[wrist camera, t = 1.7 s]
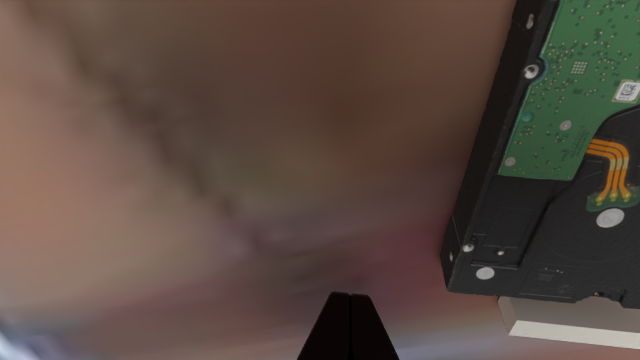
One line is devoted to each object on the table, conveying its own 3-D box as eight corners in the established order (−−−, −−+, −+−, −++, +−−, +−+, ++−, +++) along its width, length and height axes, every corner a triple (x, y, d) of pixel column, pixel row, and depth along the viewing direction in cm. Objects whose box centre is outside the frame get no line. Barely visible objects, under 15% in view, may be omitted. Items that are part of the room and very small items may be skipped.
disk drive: (645, 266, 21) (903, -83, 12) (679, 314, 19) (1027, -70, 10) (435, 251, 21) (533, -99, 12) (444, 296, 19) (572, -89, 10)
